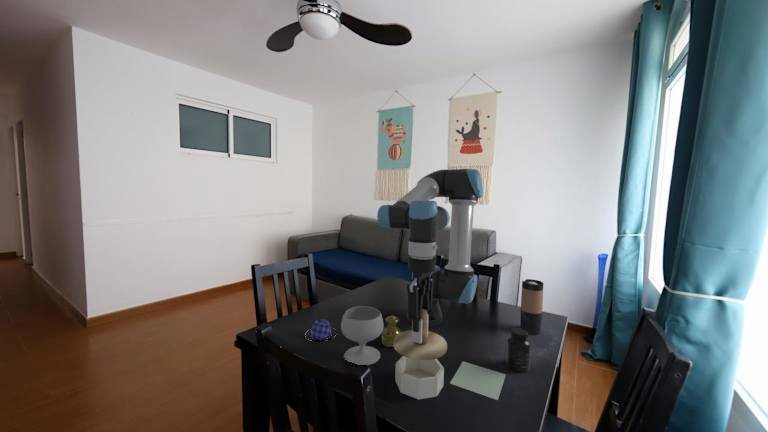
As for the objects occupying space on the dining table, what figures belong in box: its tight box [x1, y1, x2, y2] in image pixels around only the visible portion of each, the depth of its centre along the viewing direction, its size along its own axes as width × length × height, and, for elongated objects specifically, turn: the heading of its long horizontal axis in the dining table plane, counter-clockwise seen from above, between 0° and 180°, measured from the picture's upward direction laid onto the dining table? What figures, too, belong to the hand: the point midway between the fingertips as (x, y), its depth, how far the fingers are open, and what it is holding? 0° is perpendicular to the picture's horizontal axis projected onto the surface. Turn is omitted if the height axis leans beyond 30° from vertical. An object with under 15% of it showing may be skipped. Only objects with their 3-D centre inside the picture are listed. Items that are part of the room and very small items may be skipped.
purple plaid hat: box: [304, 318, 337, 342], centre depth 113 cm, size 12×12×5 cm
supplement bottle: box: [505, 327, 532, 374], centre depth 93 cm, size 7×7×12 cm
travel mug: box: [519, 278, 544, 336], centre depth 117 cm, size 8×8×20 cm
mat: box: [449, 361, 507, 401], centre depth 87 cm, size 13×13×1 cm
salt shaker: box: [381, 315, 403, 348], centre depth 107 cm, size 7×7×10 cm
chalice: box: [340, 305, 385, 366], centre depth 98 cm, size 14×14×15 cm
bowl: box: [394, 355, 445, 400], centre depth 84 cm, size 13×13×6 cm
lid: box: [393, 309, 448, 360], centre depth 83 cm, size 15×15×10 cm
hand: (419, 338), depth 83 cm, fingers closed on lid, 3 cm apart
